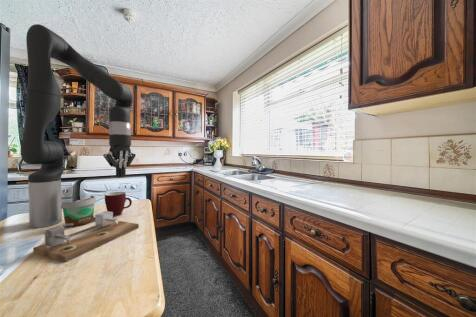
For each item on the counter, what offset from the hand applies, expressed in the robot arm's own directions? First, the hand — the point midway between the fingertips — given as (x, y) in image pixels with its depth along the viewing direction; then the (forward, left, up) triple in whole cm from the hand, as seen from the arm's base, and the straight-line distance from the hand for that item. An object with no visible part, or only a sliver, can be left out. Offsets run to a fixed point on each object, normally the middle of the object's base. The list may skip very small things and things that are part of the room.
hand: (120, 177), depth 77 cm
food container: (-14, -5, -19) cm, 24 cm away
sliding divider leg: (+2, -7, -17) cm, 18 cm away
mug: (-11, +8, -19) cm, 24 cm away
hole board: (+3, -13, -19) cm, 23 cm away
